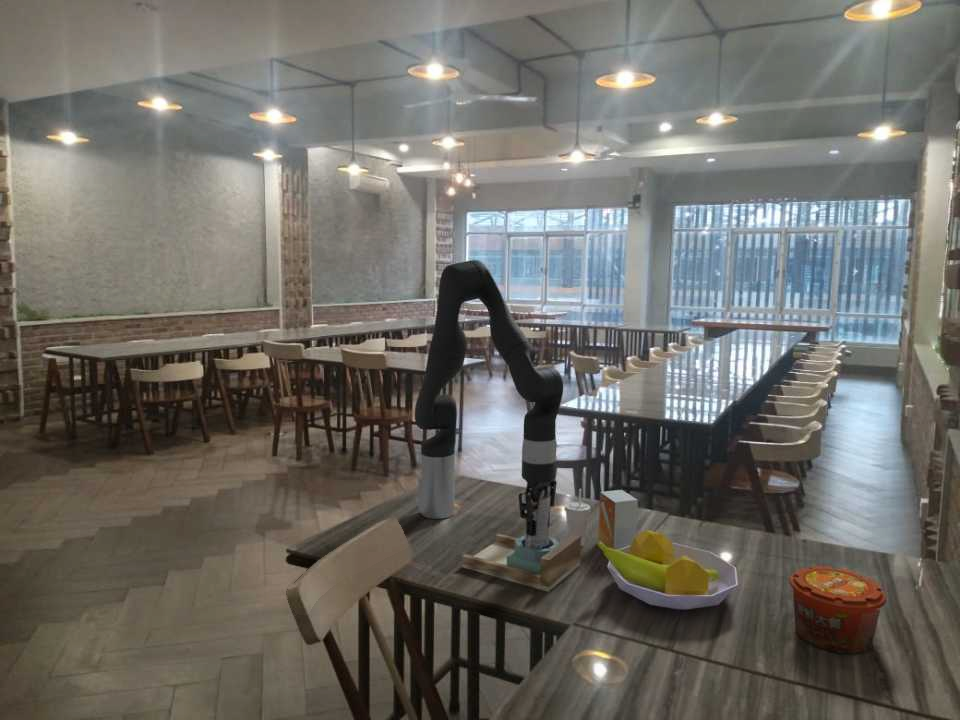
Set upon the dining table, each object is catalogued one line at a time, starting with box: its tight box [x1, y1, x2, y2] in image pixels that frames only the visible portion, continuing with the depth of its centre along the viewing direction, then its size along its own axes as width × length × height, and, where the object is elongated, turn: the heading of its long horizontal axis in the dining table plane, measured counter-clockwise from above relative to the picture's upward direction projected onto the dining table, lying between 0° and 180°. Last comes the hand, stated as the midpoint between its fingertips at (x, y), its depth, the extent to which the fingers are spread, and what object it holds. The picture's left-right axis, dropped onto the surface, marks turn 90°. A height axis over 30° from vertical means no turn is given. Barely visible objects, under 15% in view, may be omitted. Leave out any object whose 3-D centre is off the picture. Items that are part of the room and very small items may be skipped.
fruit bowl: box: [596, 529, 739, 611], centre depth 147 cm, size 28×27×11 cm
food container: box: [788, 565, 887, 655], centre depth 130 cm, size 16×16×11 cm
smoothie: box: [563, 488, 591, 547], centre depth 173 cm, size 6×6×14 cm
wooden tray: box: [461, 533, 582, 593], centre depth 160 cm, size 22×16×7 cm
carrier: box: [507, 535, 560, 574], centre depth 158 cm, size 10×10×5 cm
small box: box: [597, 489, 639, 550], centre depth 171 cm, size 8×6×13 cm
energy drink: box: [524, 496, 551, 549], centre depth 157 cm, size 5×5×12 cm
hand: (537, 530), depth 157 cm, fingers closed on energy drink, 5 cm apart
